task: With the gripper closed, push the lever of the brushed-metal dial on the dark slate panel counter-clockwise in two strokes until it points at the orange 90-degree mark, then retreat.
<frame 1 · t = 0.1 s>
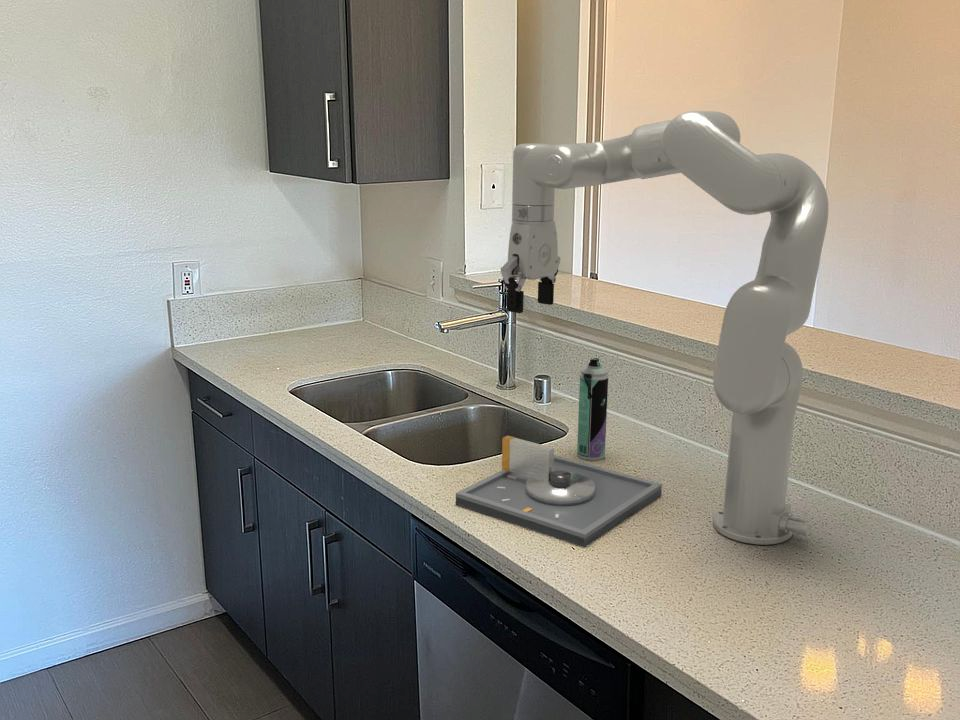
hand: (530, 307, 169), 31 cm above the worktop, fingers open, 9 cm apart
panel: (559, 500, 161), on the worktop
dial: (546, 467, 162), point 5 cm above the worktop, hinge at 0.0°
spray can: (590, 457, 182), on the worktop
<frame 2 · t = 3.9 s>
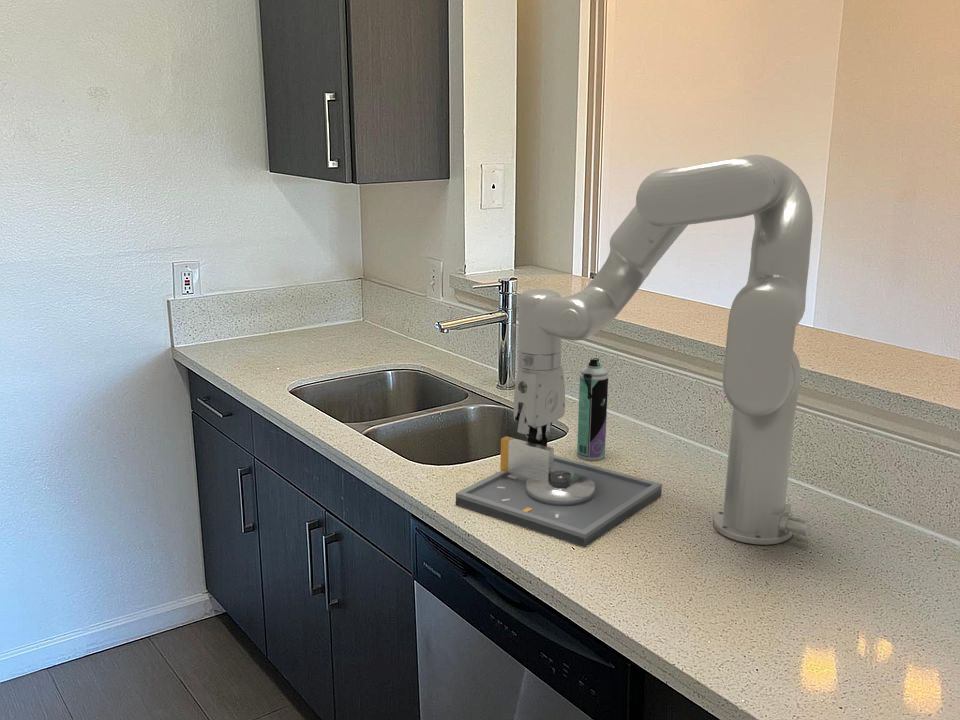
hand: (537, 457, 166), 5 cm above the worktop, fingers closed
dial: (545, 467, 162), point 5 cm above the worktop, hinge at 2.4°, touching gripper
everything else where it was.
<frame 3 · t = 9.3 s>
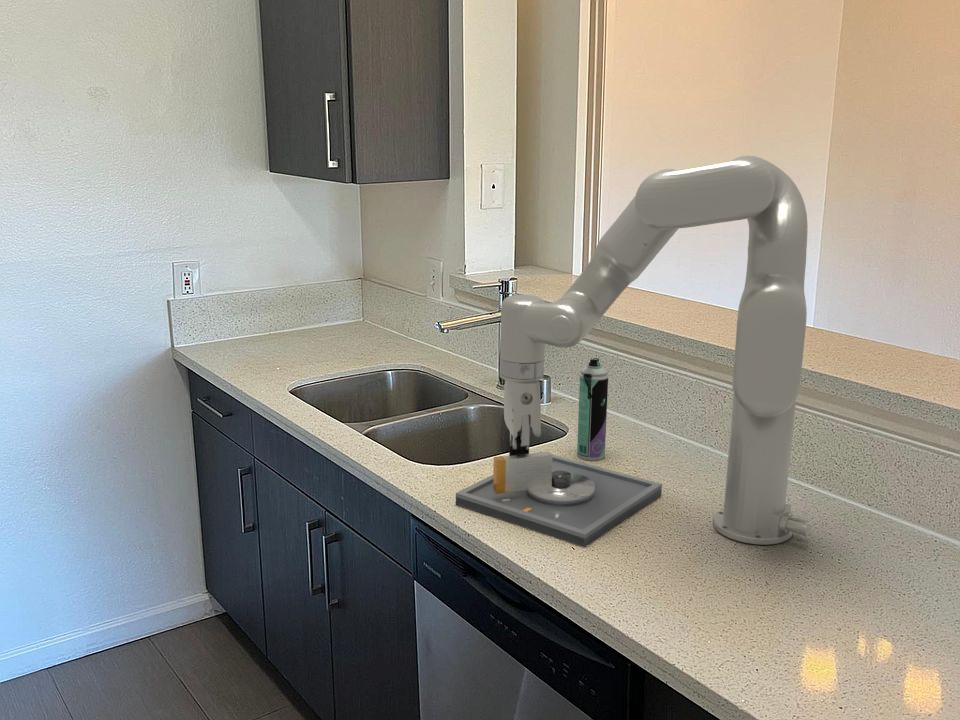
hand: (518, 468, 161), 5 cm above the worktop, fingers closed
dial: (544, 473, 159), point 5 cm above the worktop, hinge at 55.3°, touching gripper
everything else where it was.
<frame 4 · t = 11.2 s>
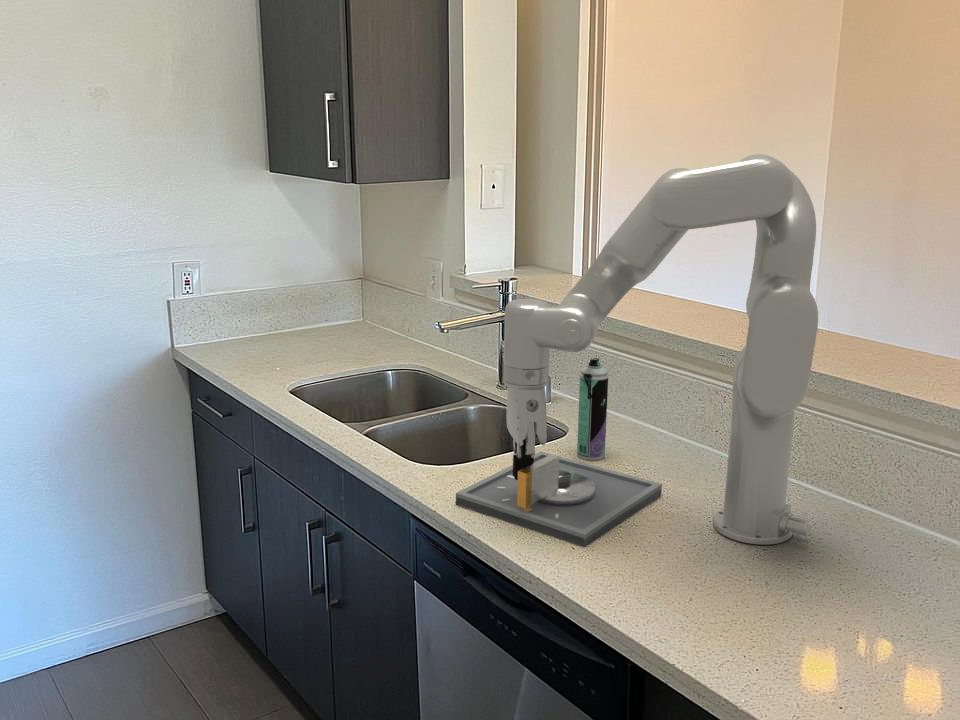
hand: (522, 477, 156), 6 cm above the worktop, fingers closed
dial: (551, 476, 157), point 5 cm above the worktop, hinge at 91.0°
everything else where it was.
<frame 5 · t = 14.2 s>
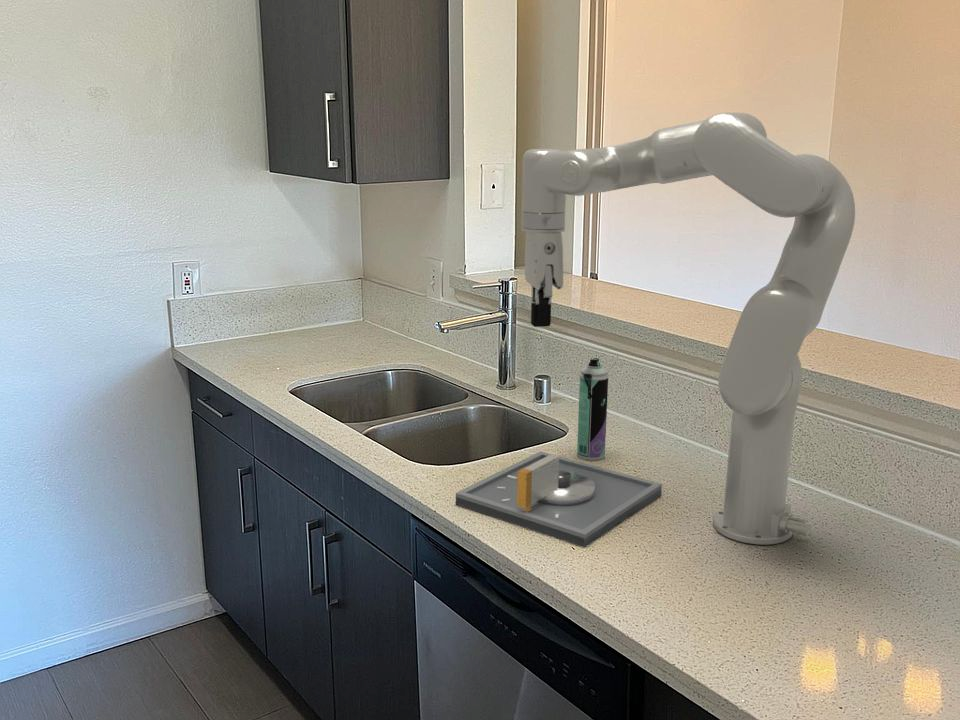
hand: (540, 325, 164), 29 cm above the worktop, fingers closed
nothing on the worktop moved.
at the end: dial at +91° (first picture: +0°); spray can moved 0.2 cm from its start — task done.
